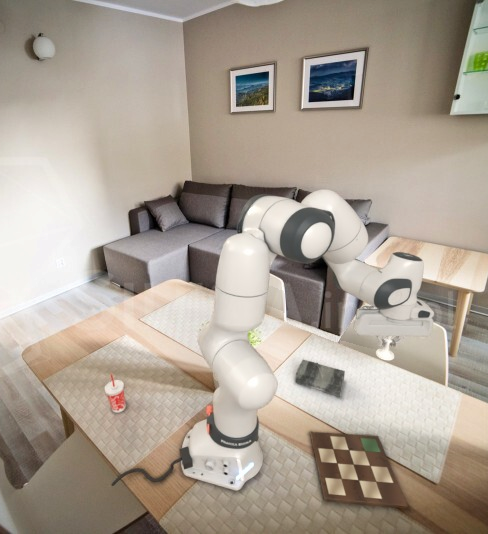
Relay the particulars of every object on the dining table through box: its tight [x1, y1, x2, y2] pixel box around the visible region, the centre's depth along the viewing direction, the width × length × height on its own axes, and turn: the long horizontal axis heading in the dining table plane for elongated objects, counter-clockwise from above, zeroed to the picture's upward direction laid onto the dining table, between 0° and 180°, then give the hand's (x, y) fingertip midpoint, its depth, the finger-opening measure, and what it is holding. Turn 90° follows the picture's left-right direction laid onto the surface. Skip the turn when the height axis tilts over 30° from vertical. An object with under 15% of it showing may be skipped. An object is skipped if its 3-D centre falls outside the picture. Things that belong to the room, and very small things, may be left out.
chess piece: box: [375, 336, 395, 361], centre depth 98 cm, size 5×5×10 cm
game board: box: [309, 431, 408, 510], centre depth 84 cm, size 18×18×1 cm
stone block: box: [295, 359, 346, 398], centre depth 111 cm, size 9×14×5 cm, turn 57°
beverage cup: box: [104, 374, 127, 414], centre depth 106 cm, size 6×6×14 cm
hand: (387, 345), depth 99 cm, fingers closed on chess piece
